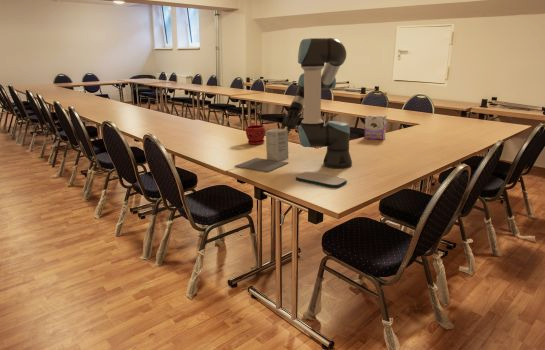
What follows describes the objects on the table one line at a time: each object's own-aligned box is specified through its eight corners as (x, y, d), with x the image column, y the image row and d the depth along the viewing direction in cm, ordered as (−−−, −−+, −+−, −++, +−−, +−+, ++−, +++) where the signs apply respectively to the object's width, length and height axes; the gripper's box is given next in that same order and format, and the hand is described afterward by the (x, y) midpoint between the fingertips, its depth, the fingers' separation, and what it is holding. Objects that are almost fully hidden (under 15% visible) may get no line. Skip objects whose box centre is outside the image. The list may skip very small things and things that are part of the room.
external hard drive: (293, 180, 182) (293, 177, 182) (306, 175, 191) (306, 171, 190) (336, 190, 168) (336, 185, 168) (349, 183, 177) (349, 179, 176)
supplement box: (288, 158, 222) (288, 129, 217) (278, 161, 216) (277, 132, 211) (276, 155, 228) (276, 128, 224) (266, 159, 222) (265, 130, 217)
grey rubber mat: (288, 163, 211) (288, 162, 211) (268, 172, 196) (268, 171, 195) (256, 158, 223) (256, 157, 223) (234, 166, 207) (234, 165, 207)
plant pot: (252, 141, 272) (251, 124, 269) (268, 142, 266) (268, 125, 263) (242, 144, 261) (241, 127, 258) (259, 146, 255) (258, 128, 252)
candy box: (385, 138, 268) (387, 115, 264) (383, 140, 264) (384, 116, 259) (366, 137, 275) (367, 114, 271) (363, 138, 271) (364, 115, 266)
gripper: (308, 109, 232) (295, 141, 224) (290, 108, 239) (276, 139, 231) (304, 101, 227) (290, 134, 218) (285, 100, 234) (271, 132, 225)
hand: (283, 136), depth 225 cm, fingers closed
